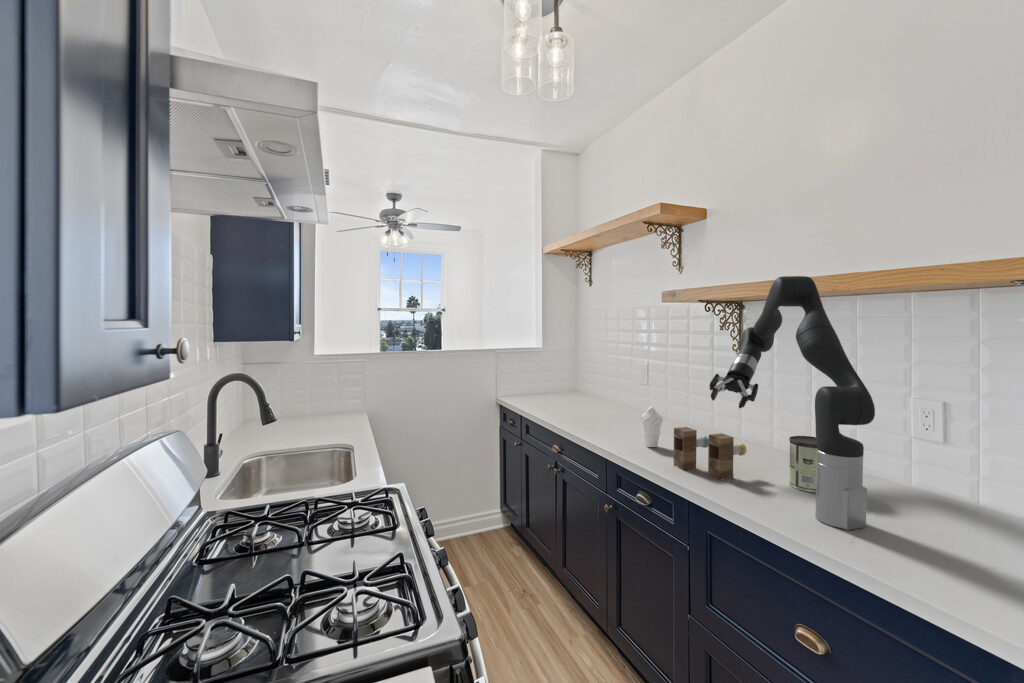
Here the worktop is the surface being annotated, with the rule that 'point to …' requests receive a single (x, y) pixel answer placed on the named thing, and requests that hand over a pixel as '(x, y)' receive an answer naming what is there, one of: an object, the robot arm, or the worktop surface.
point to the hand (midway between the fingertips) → (726, 402)
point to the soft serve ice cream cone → (651, 427)
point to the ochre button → (739, 449)
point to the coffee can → (803, 463)
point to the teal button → (702, 442)
